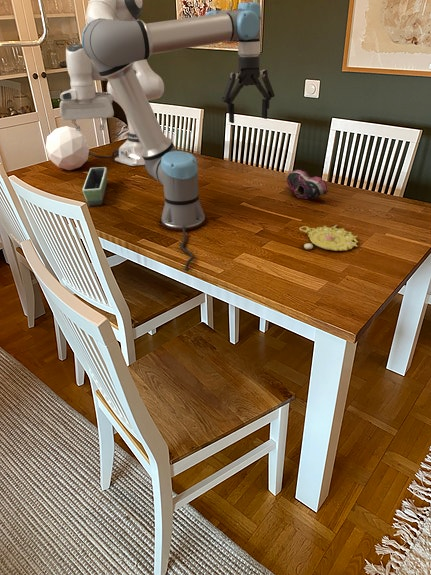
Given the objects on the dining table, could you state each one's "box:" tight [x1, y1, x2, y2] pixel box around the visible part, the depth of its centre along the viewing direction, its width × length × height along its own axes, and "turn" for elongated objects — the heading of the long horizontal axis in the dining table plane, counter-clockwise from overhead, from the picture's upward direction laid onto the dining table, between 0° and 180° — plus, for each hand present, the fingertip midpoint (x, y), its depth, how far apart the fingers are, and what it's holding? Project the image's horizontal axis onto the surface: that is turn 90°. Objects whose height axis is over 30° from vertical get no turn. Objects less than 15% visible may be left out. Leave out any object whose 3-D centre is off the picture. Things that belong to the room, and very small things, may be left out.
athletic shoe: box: [284, 169, 328, 201], centre depth 172 cm, size 11×22×12 cm
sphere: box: [44, 125, 90, 171], centre depth 207 cm, size 19×20×20 cm
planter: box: [82, 166, 108, 207], centre depth 180 cm, size 28×7×7 cm, turn 7°
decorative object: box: [299, 224, 359, 252], centre depth 141 cm, size 21×2×20 cm
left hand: (90, 130), depth 177 cm, fingers open, 8 cm apart
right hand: (248, 120), depth 163 cm, fingers open, 13 cm apart
